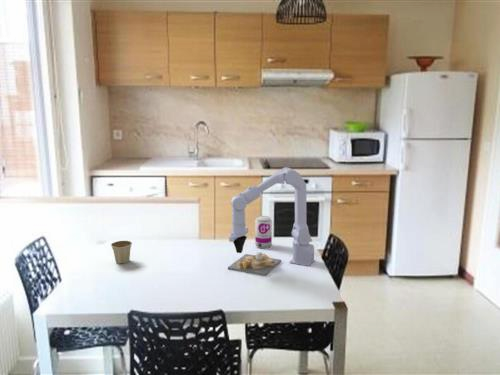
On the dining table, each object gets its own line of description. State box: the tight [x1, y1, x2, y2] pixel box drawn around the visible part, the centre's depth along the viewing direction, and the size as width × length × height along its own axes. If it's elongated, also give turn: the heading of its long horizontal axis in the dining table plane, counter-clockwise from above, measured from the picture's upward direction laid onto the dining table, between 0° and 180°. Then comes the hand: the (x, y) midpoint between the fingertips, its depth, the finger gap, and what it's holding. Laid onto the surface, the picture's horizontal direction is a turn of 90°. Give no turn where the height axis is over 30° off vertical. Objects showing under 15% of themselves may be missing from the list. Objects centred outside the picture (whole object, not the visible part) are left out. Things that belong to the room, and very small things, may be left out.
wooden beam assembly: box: [236, 253, 274, 270], centre depth 192 cm, size 15×10×2 cm, turn 114°
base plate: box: [227, 251, 282, 277], centre depth 194 cm, size 18×18×6 cm
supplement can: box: [254, 215, 273, 249], centre depth 218 cm, size 8×8×15 cm
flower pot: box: [110, 240, 133, 265], centre depth 200 cm, size 9×9×9 cm
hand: (239, 252), depth 191 cm, fingers closed
